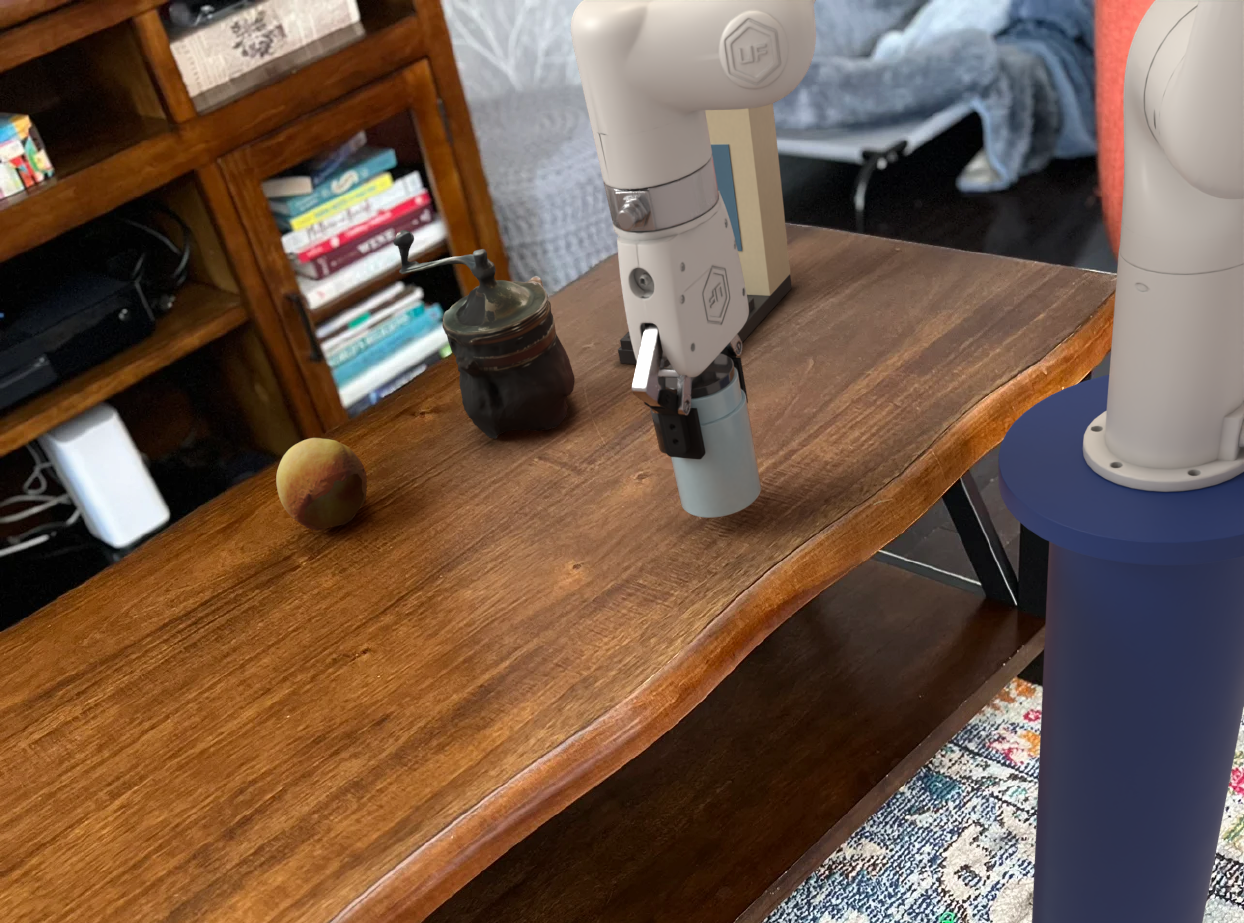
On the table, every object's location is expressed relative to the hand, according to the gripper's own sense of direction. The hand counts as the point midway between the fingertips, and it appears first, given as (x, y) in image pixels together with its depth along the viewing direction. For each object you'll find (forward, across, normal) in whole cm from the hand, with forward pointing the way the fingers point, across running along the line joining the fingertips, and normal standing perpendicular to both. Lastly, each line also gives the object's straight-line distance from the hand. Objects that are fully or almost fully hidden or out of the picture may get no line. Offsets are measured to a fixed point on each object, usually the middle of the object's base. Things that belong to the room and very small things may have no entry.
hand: (707, 428), depth 100 cm
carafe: (+6, 0, 0) cm, 6 cm away
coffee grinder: (+8, +11, +29) cm, 32 cm away
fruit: (+7, -8, +36) cm, 38 cm away
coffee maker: (+8, +33, +18) cm, 38 cm away
